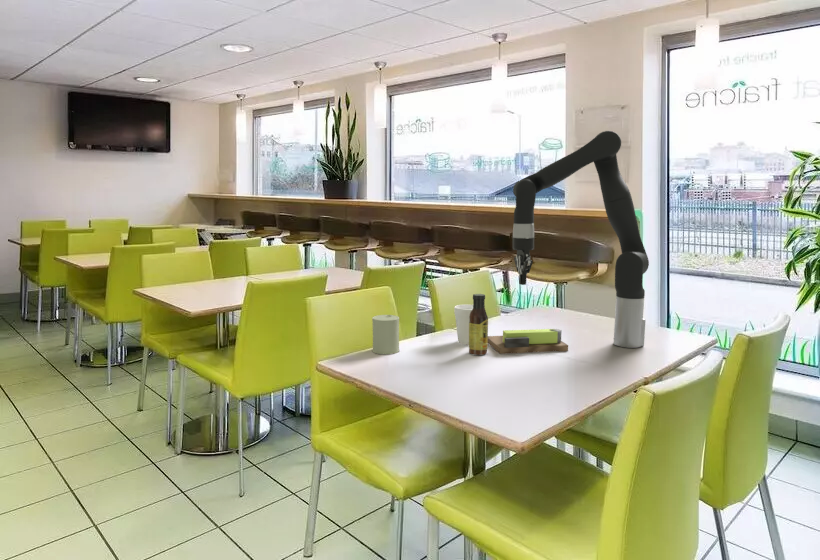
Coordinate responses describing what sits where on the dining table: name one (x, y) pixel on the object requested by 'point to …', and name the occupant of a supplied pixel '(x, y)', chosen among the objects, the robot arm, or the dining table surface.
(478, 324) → the sauce bottle
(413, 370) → the dining table surface
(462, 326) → the foam cup
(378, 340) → the can
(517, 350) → the board
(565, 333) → the dining table surface
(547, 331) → the yellow-green long bar
